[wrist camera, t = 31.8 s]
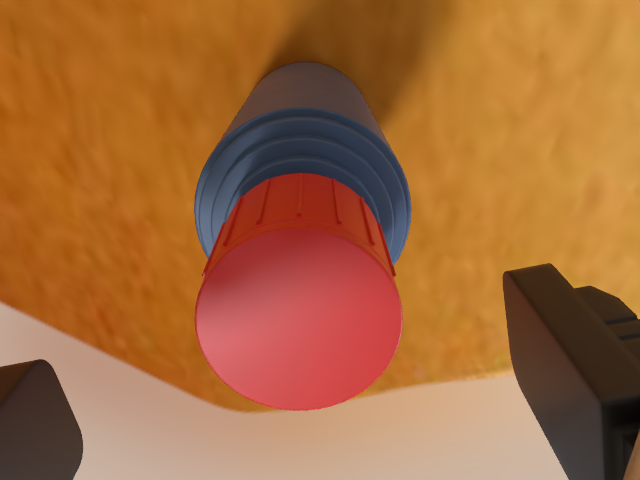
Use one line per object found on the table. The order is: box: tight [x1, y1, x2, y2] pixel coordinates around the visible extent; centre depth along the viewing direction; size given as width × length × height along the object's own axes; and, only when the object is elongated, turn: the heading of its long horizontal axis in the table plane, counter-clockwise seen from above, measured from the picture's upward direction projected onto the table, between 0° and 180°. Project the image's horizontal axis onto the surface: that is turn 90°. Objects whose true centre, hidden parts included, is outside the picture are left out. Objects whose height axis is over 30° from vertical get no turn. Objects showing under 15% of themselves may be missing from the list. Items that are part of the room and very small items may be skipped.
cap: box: [195, 173, 403, 411], centre depth 13 cm, size 4×4×4 cm
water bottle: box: [194, 62, 411, 266], centre depth 21 cm, size 6×6×18 cm
